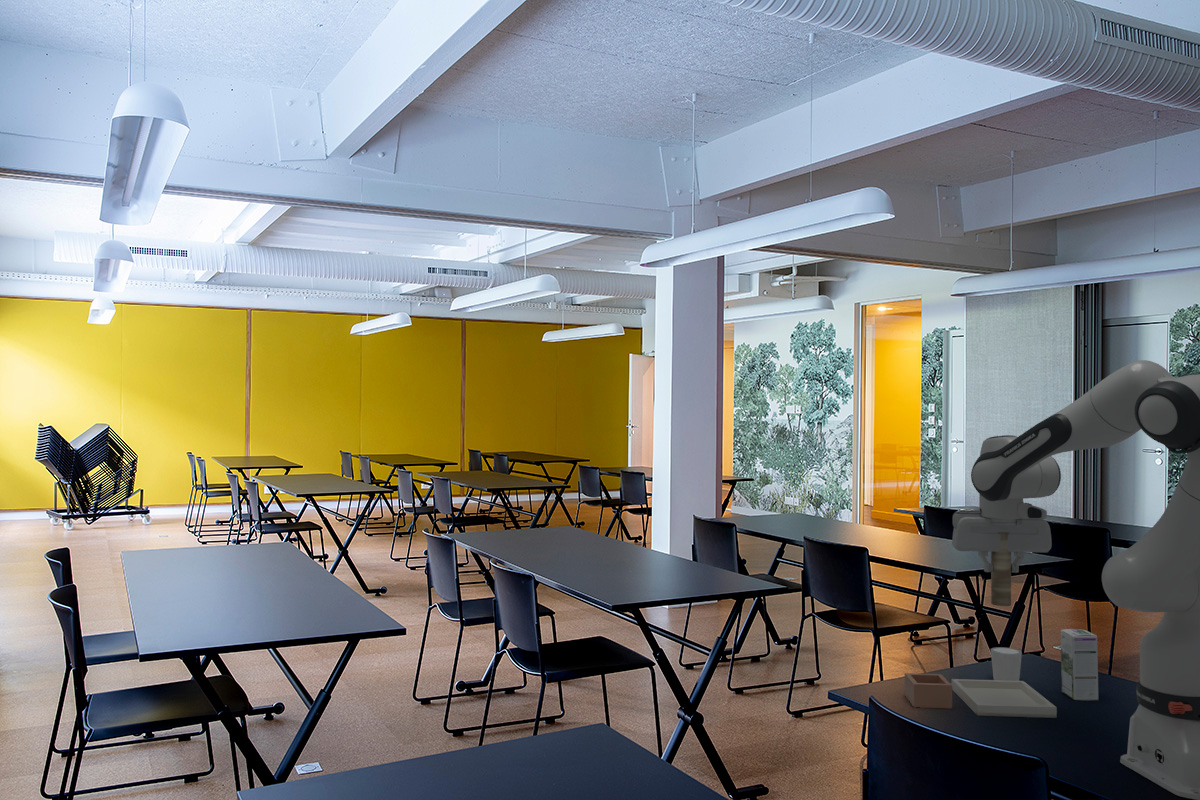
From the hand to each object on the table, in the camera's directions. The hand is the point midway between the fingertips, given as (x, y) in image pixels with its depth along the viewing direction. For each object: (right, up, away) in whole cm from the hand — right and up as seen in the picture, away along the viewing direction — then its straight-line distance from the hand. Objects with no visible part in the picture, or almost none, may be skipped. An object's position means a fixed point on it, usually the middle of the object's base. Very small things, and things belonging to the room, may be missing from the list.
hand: (1001, 571), depth 196 cm
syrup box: (+19, -29, +4) cm, 35 cm away
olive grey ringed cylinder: (0, -7, 0) cm, 7 cm away
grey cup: (+8, -29, +16) cm, 34 cm away
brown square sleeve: (-16, -29, 0) cm, 33 cm away
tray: (0, -29, 0) cm, 29 cm away
